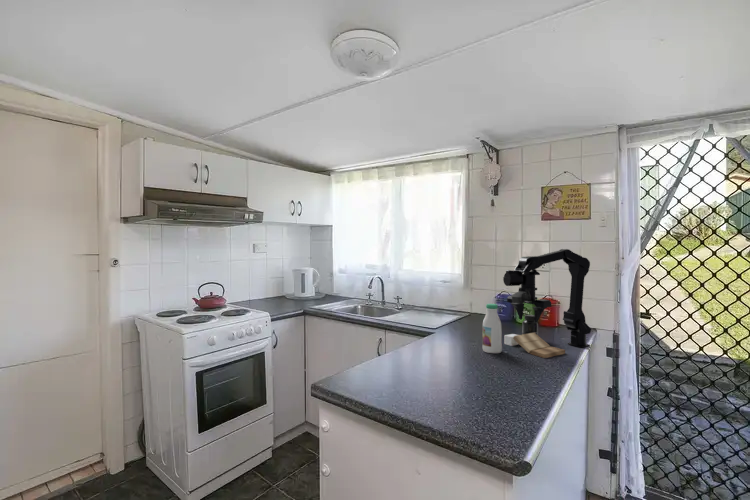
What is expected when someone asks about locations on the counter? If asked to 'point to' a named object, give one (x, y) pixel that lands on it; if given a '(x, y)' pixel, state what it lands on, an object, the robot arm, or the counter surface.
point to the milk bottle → (492, 330)
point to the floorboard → (548, 352)
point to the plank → (530, 342)
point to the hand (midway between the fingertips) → (528, 320)
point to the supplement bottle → (529, 325)
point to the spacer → (510, 339)
